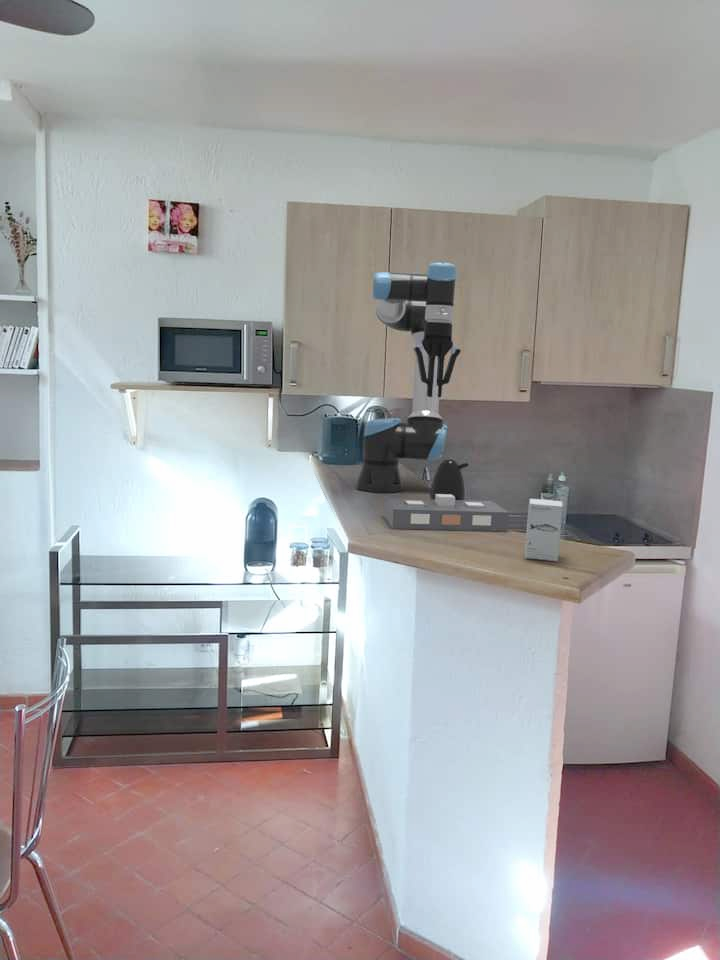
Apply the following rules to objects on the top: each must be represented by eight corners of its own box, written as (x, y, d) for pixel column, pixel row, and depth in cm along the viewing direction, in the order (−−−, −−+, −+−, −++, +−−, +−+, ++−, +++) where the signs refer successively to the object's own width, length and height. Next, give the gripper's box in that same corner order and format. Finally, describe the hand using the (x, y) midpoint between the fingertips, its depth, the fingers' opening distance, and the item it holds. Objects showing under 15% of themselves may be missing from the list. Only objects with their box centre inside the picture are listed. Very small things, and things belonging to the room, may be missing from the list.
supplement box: (523, 559, 175) (528, 502, 174) (524, 551, 183) (529, 497, 181) (558, 562, 174) (563, 505, 172) (557, 554, 181) (562, 500, 179)
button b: (434, 509, 211) (435, 494, 211) (450, 510, 212) (451, 494, 211) (437, 513, 207) (438, 496, 206) (454, 513, 207) (455, 497, 207)
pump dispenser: (463, 515, 222) (467, 462, 220) (427, 512, 224) (430, 459, 222) (466, 509, 232) (470, 458, 230) (431, 506, 234) (434, 455, 232)
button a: (404, 516, 211) (405, 500, 210) (420, 516, 211) (421, 501, 210) (407, 519, 206) (408, 503, 206) (423, 520, 207) (424, 504, 206)
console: (383, 516, 216) (384, 498, 215) (490, 518, 219) (491, 501, 219) (392, 529, 200) (393, 509, 199) (507, 531, 203) (509, 512, 203)
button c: (463, 517, 212) (464, 502, 212) (479, 518, 213) (480, 502, 212) (467, 521, 208) (468, 505, 208) (483, 521, 209) (484, 505, 208)
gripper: (417, 320, 210) (412, 409, 213) (465, 322, 211) (459, 411, 215) (412, 321, 217) (407, 407, 221) (458, 323, 219) (453, 409, 222)
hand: (433, 409), depth 218 cm, fingers closed
